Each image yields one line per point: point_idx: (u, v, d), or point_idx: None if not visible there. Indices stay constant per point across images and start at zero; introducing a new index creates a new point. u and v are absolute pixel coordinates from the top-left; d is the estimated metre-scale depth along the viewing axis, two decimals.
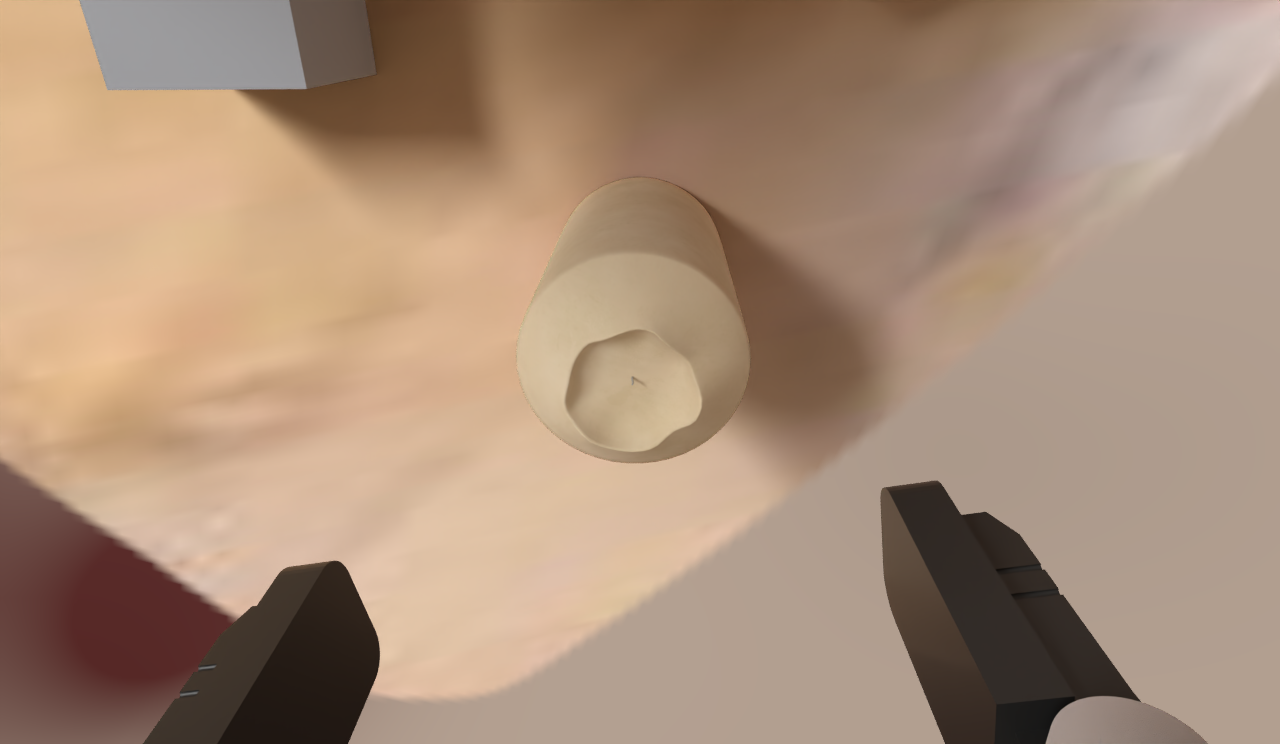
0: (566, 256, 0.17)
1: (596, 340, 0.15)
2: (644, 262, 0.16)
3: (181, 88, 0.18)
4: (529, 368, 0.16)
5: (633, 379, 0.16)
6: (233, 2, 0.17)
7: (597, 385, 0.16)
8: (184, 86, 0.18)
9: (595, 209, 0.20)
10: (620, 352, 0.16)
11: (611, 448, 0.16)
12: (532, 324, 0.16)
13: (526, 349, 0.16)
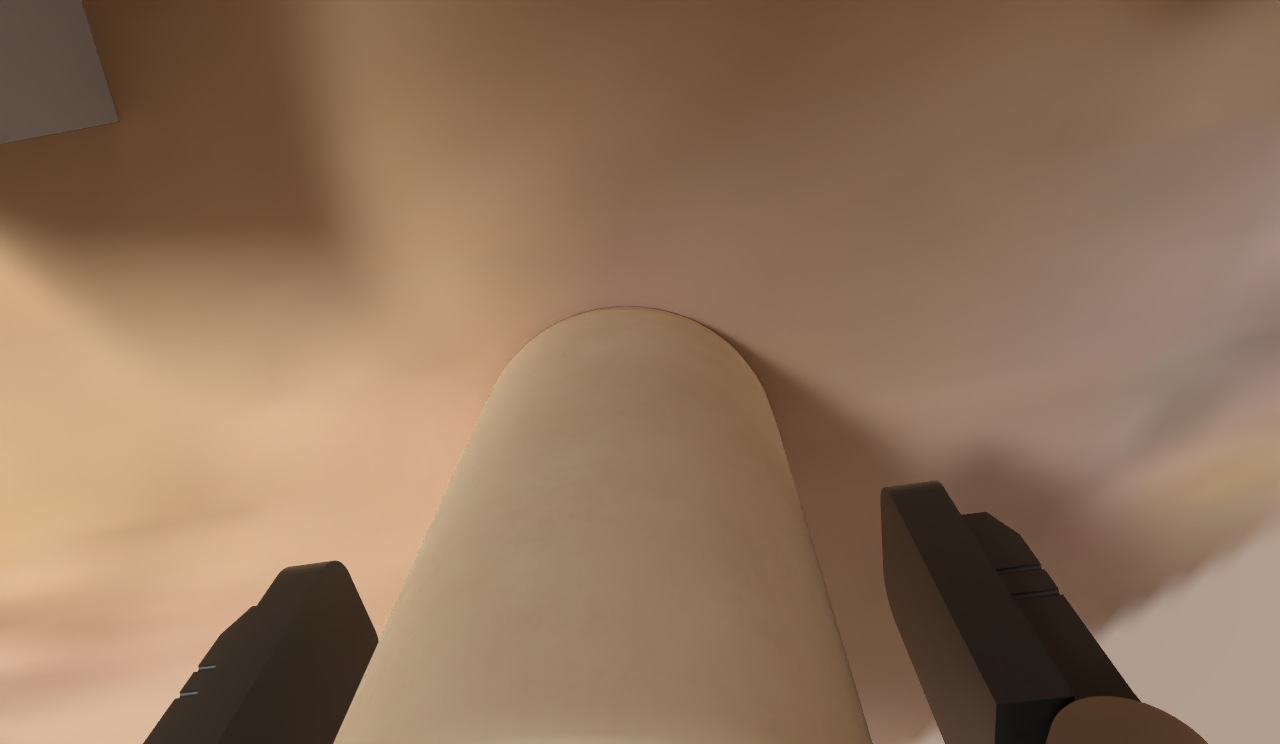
0: (420, 640, 0.06)
1: None
2: None
3: None
4: None
5: None
6: None
7: None
8: None
9: (529, 416, 0.09)
10: None
11: None
12: None
13: None
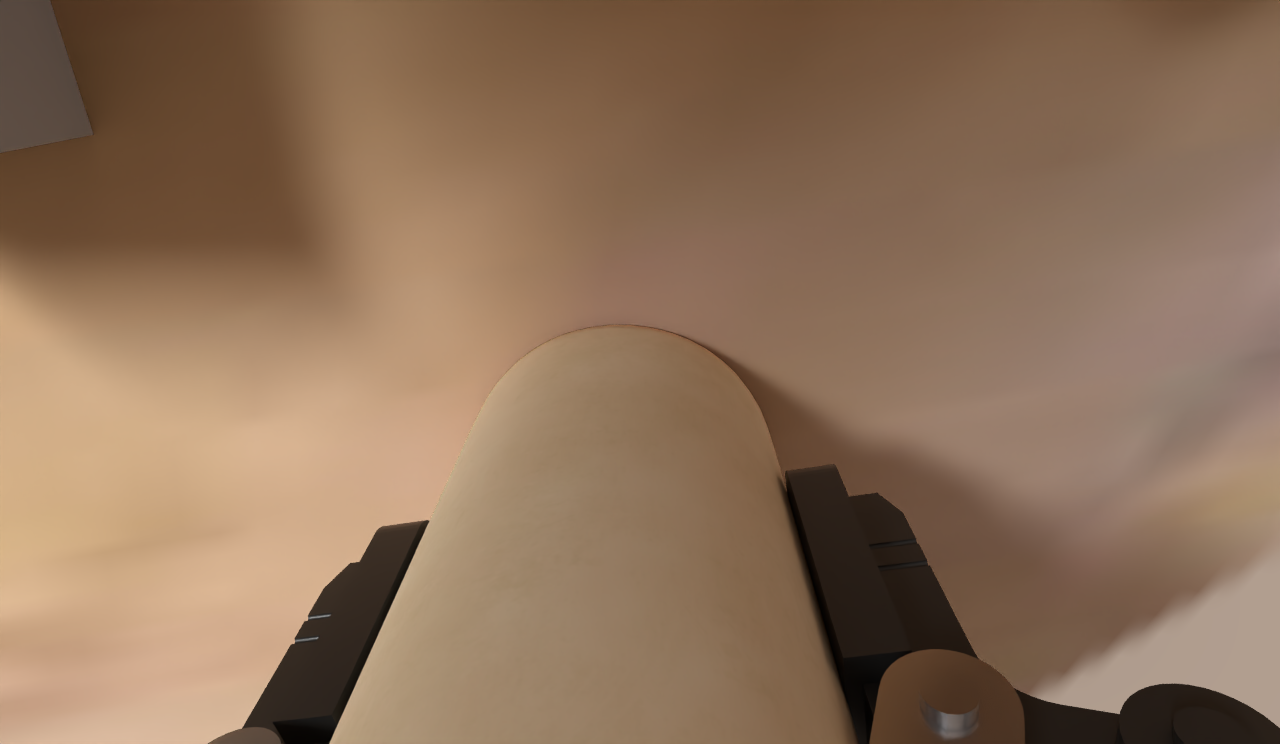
0: (393, 696, 0.06)
1: None
2: None
3: None
4: None
5: None
6: None
7: None
8: None
9: (515, 444, 0.09)
10: None
11: None
12: None
13: None
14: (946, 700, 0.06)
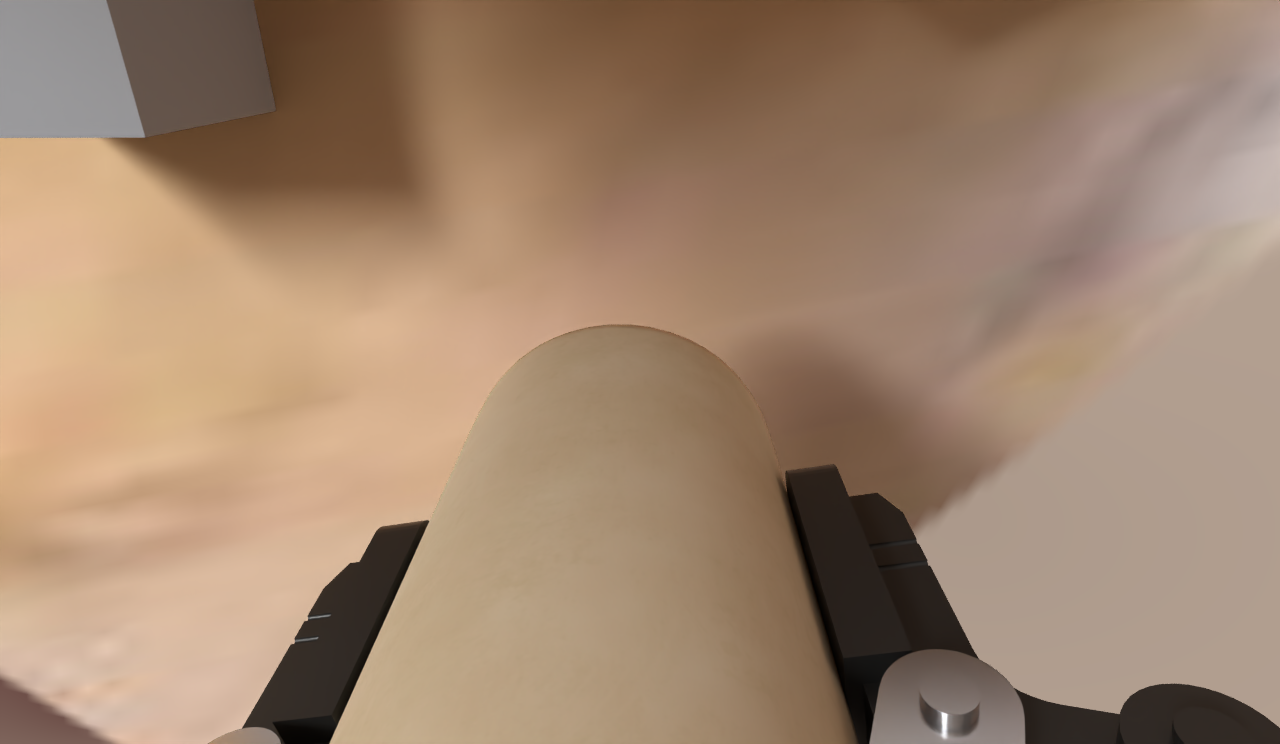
0: (394, 694, 0.06)
1: None
2: None
3: None
4: None
5: None
6: (30, 16, 0.12)
7: None
8: None
9: (516, 443, 0.09)
10: None
11: None
12: None
13: None
14: (946, 700, 0.06)
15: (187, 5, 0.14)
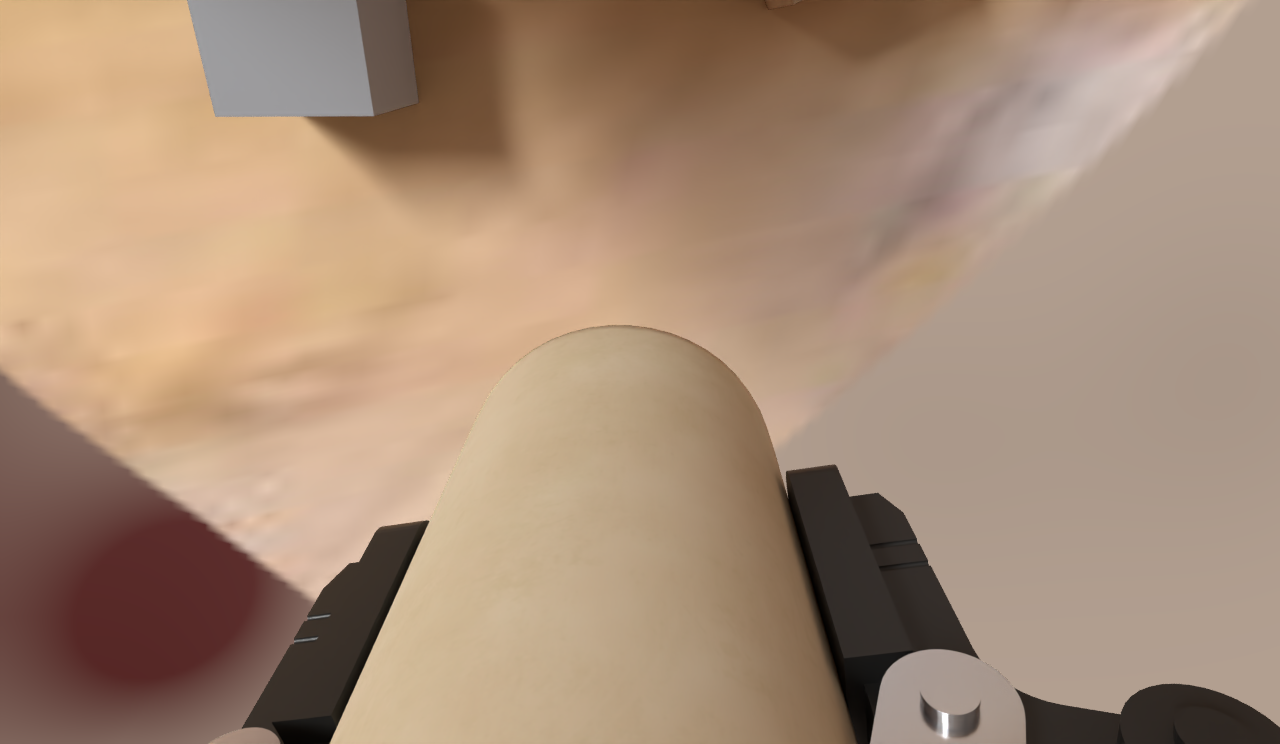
0: (394, 695, 0.06)
1: None
2: None
3: (274, 115, 0.22)
4: None
5: None
6: (319, 49, 0.22)
7: None
8: (277, 114, 0.22)
9: (515, 444, 0.09)
10: None
11: None
12: None
13: None
14: (947, 700, 0.06)
15: (387, 39, 0.24)
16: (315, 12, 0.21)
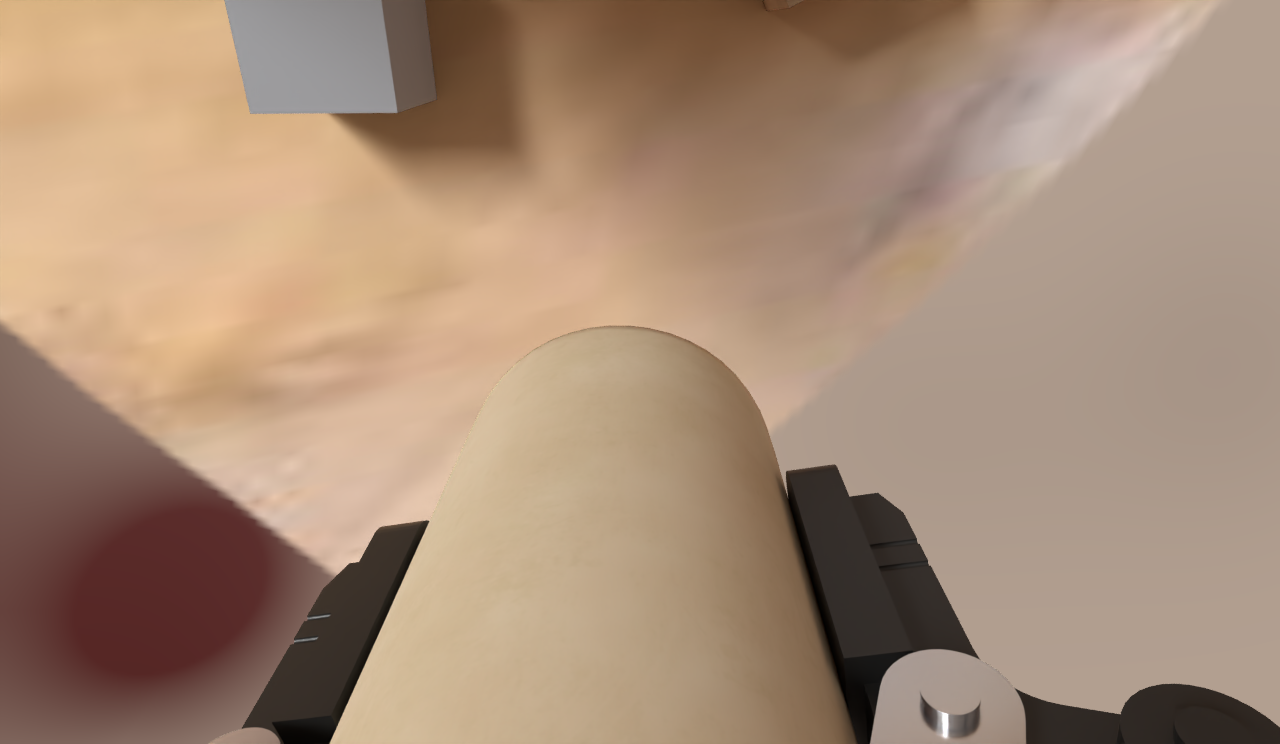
0: (393, 697, 0.06)
1: None
2: None
3: (305, 112, 0.24)
4: None
5: None
6: (347, 50, 0.23)
7: None
8: (307, 111, 0.24)
9: (515, 445, 0.09)
10: None
11: None
12: None
13: None
14: (947, 700, 0.06)
15: (409, 41, 0.25)
16: (343, 16, 0.23)
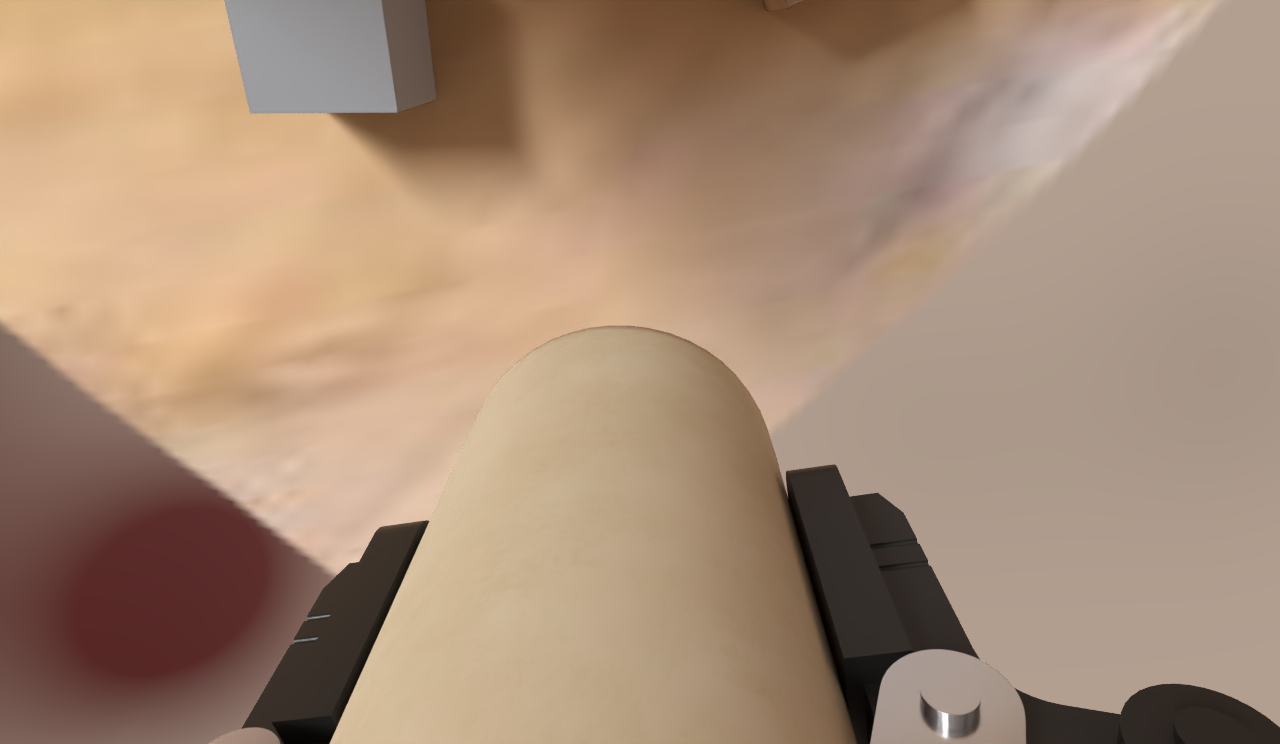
0: (393, 697, 0.06)
1: None
2: None
3: (305, 112, 0.24)
4: None
5: None
6: (347, 50, 0.23)
7: None
8: (307, 110, 0.24)
9: (515, 445, 0.09)
10: None
11: None
12: None
13: None
14: (947, 700, 0.06)
15: (409, 41, 0.25)
16: (343, 16, 0.23)
